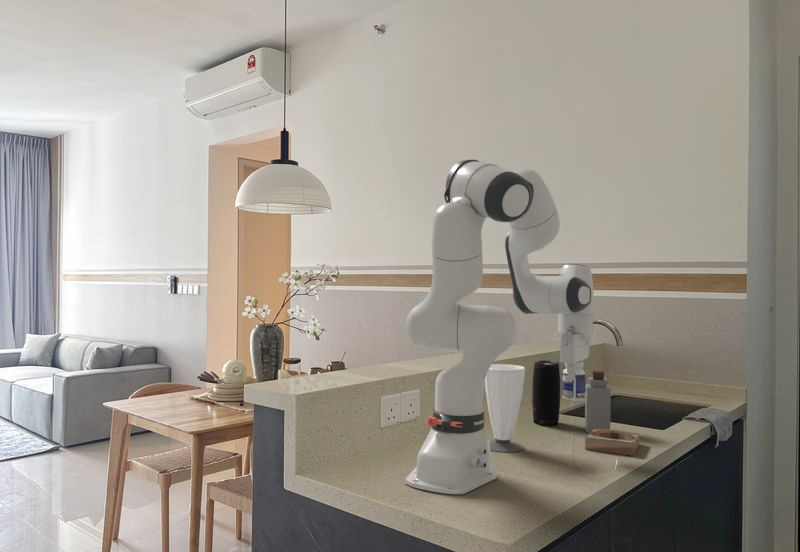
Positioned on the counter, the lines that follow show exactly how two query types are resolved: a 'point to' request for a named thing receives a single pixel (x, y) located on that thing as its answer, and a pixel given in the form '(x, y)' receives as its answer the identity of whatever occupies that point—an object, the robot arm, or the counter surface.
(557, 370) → the portable speaker
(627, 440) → the jig
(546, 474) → the counter surface
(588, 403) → the perfume bottle
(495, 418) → the cup
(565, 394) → the pill bottle
